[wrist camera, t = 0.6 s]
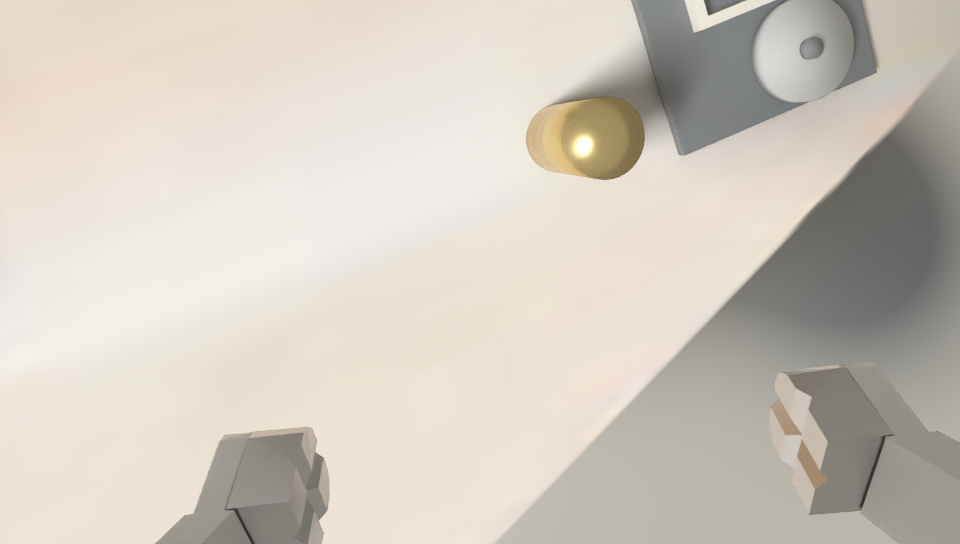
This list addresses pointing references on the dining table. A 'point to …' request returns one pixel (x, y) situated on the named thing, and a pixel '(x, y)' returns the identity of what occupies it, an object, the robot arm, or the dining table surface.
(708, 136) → the grey holder tray
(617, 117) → the brushed brass cylinder
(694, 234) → the dining table surface
